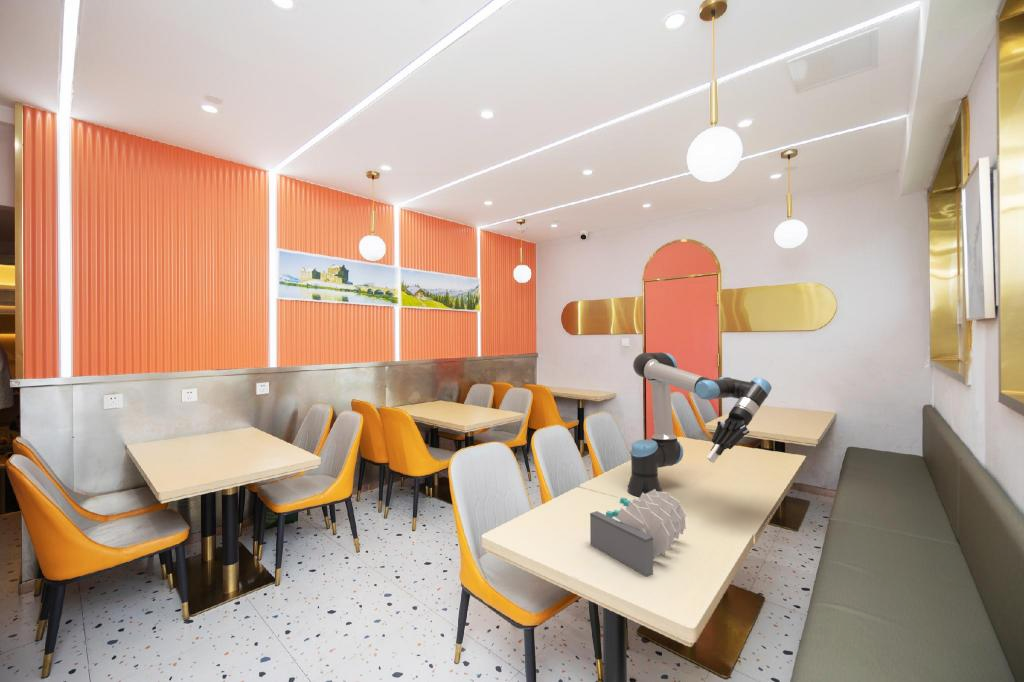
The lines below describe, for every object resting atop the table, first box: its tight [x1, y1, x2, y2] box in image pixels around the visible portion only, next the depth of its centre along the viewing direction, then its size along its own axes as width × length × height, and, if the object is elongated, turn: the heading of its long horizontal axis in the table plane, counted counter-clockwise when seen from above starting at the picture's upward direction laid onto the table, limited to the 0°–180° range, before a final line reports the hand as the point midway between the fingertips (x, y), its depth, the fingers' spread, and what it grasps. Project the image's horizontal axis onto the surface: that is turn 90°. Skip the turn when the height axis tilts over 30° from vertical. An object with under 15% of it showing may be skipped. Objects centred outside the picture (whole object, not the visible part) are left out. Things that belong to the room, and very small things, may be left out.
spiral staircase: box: [616, 489, 687, 560], centre depth 145 cm, size 18×18×25 cm
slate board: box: [589, 511, 654, 577], centre depth 138 cm, size 24×3×11 cm, turn 32°
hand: (710, 460), depth 158 cm, fingers closed
